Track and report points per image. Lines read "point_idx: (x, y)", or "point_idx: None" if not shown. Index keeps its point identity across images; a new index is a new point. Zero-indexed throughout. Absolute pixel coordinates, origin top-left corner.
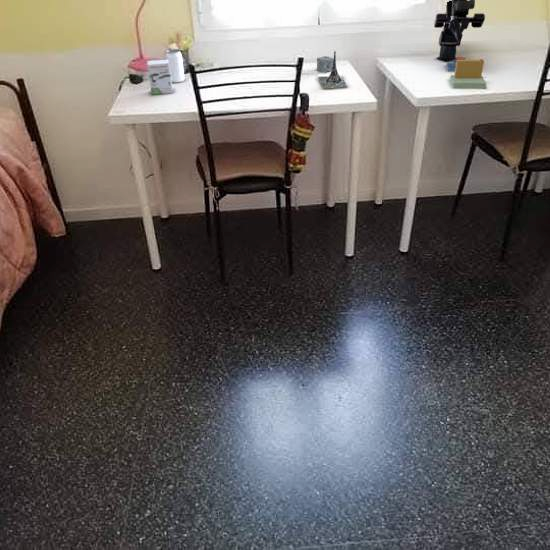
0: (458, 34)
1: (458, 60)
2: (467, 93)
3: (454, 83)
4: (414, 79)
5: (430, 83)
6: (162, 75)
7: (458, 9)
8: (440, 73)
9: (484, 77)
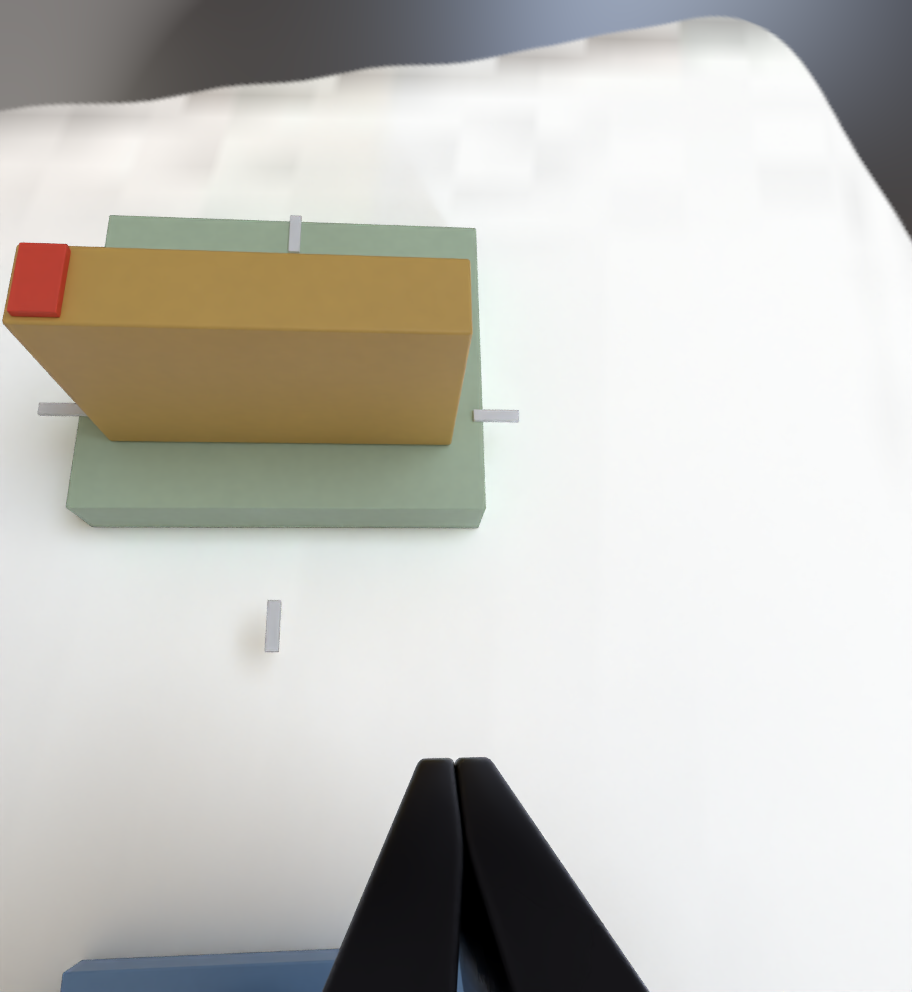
0: (500, 872)
1: (450, 282)
2: (347, 127)
3: (468, 232)
4: (894, 541)
5: (704, 405)
6: None
7: None
8: (584, 823)
9: (59, 403)
